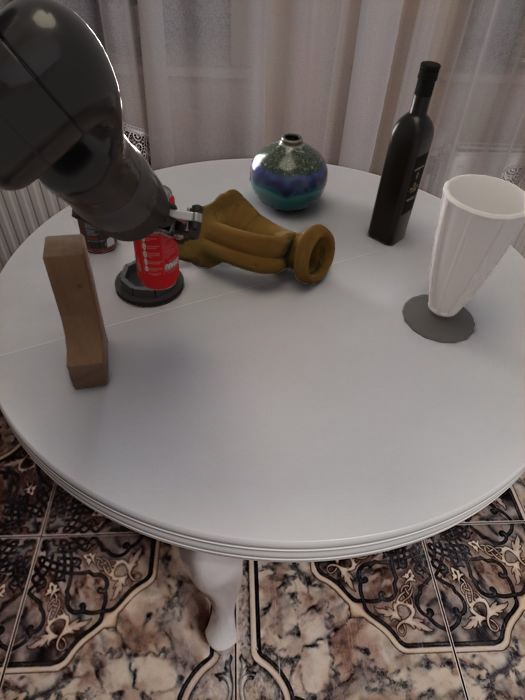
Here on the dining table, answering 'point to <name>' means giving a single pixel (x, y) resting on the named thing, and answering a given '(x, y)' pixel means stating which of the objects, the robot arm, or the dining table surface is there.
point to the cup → (465, 252)
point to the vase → (288, 174)
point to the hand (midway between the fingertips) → (158, 233)
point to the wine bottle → (405, 162)
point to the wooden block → (78, 309)
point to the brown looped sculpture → (257, 242)
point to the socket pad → (147, 300)
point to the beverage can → (157, 258)
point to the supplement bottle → (96, 238)
